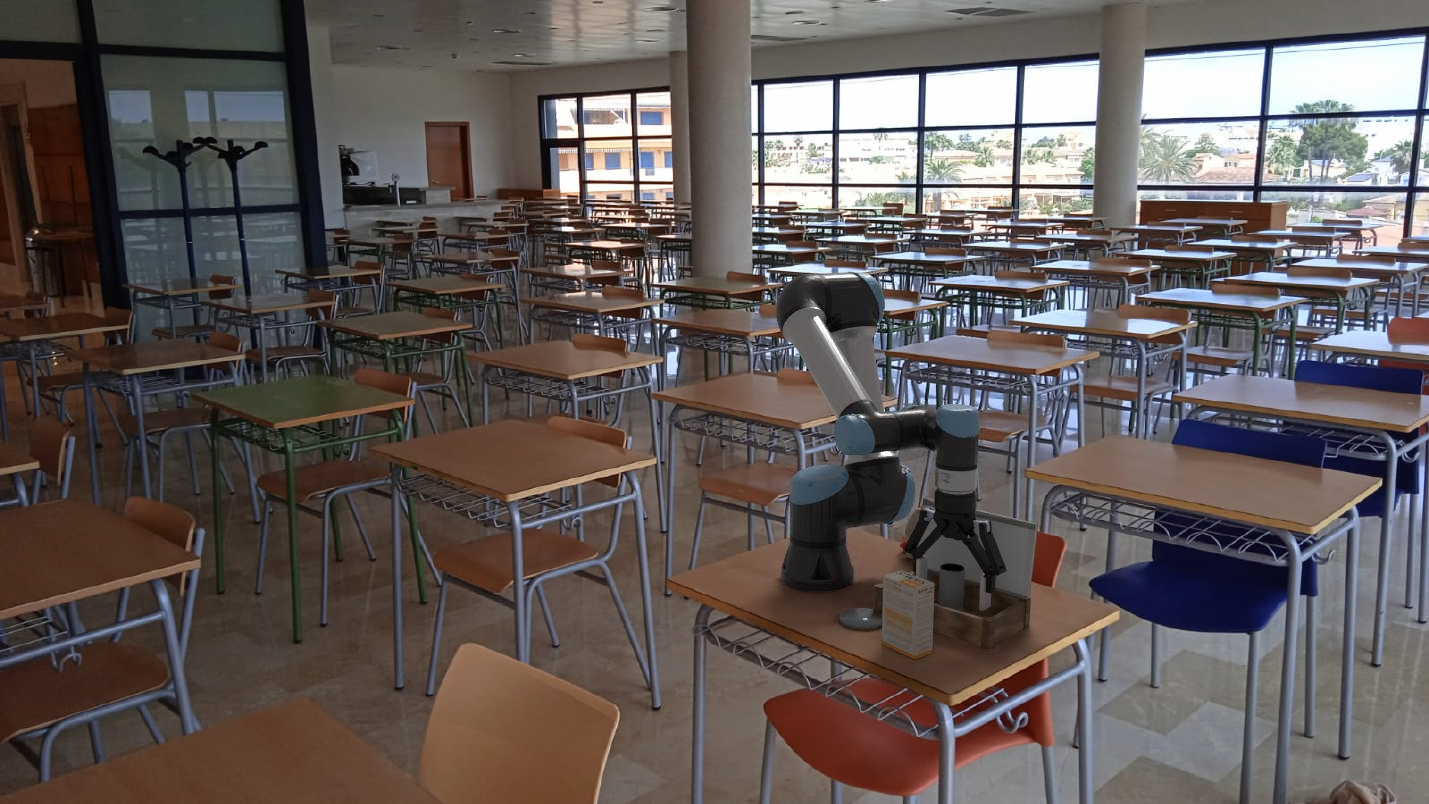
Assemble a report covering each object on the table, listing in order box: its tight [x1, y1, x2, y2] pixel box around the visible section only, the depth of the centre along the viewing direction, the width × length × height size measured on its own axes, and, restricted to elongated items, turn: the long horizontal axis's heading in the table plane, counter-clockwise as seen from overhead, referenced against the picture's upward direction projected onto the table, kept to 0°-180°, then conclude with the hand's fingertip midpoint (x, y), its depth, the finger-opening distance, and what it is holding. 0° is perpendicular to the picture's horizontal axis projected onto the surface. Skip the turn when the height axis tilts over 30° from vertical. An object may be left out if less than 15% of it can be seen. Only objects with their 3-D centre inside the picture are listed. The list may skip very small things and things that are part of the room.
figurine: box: [899, 507, 922, 561], centre depth 230 cm, size 9×7×12 cm
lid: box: [918, 497, 1039, 600], centre depth 200 cm, size 24×14×1 cm
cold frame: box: [873, 570, 1032, 651], centre depth 197 cm, size 25×15×5 cm, turn 46°
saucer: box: [839, 607, 883, 631], centre depth 197 cm, size 8×8×1 cm
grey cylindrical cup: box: [937, 563, 965, 612], centre depth 196 cm, size 4×4×10 cm
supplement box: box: [881, 570, 935, 660], centre depth 183 cm, size 8×5×13 cm, turn 35°
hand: (952, 599), depth 196 cm, fingers open, 13 cm apart
